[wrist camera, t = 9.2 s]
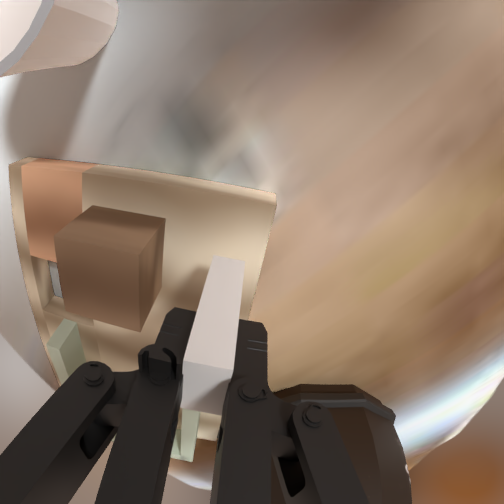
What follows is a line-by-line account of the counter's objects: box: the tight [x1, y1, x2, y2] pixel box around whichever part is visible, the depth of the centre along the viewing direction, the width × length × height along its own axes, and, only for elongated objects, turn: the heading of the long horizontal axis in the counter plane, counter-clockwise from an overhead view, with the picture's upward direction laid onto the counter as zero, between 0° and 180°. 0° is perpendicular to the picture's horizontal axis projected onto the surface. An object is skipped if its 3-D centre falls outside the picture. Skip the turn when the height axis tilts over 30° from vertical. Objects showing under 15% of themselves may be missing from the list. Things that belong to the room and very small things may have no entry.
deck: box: [9, 157, 277, 441], centre depth 21 cm, size 25×17×2 cm
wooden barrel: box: [271, 384, 412, 504], centre depth 21 cm, size 18×18×16 cm
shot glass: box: [0, 0, 119, 77], centre depth 9 cm, size 7×7×7 cm
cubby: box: [46, 319, 200, 462], centre depth 22 cm, size 14×12×3 cm
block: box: [54, 205, 166, 332], centre depth 15 cm, size 4×4×4 cm
